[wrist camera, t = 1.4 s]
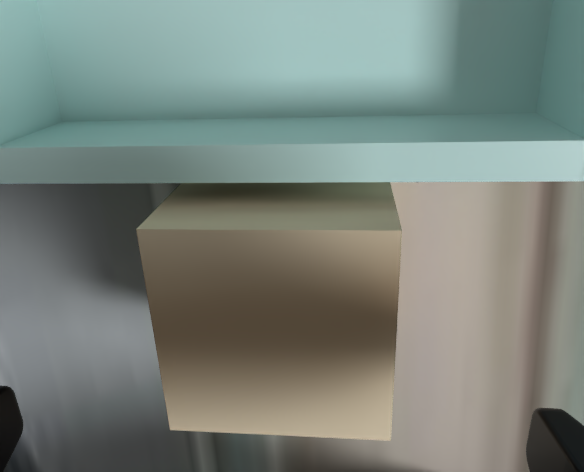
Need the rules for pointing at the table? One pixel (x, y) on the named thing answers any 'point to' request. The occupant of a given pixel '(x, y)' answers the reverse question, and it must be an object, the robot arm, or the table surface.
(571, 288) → the table surface
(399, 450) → the table surface
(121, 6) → the tote
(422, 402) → the table surface
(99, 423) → the table surface
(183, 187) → the cube
